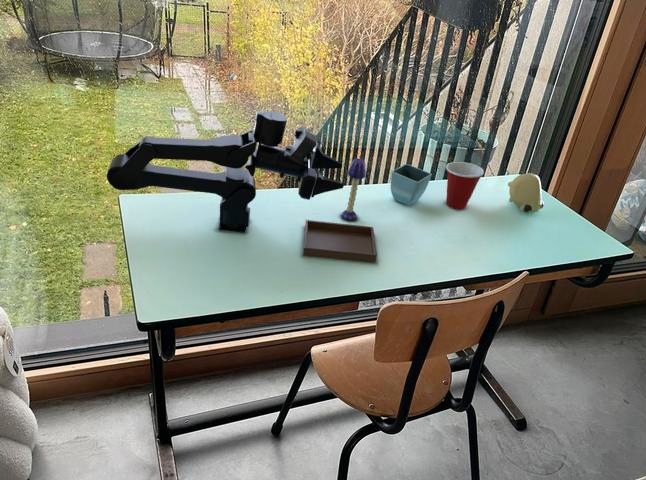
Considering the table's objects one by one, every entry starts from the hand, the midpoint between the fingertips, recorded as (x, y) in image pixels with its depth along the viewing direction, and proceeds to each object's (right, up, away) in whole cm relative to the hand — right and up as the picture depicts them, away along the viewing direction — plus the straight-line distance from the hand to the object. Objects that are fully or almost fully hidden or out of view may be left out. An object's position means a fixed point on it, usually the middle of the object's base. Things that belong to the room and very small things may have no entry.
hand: (342, 175), depth 135 cm
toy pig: (+53, -3, +39) cm, 66 cm away
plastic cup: (+32, -3, +33) cm, 46 cm away
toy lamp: (+1, -9, +16) cm, 18 cm away
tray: (-1, -16, +4) cm, 17 cm away
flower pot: (+17, -2, +30) cm, 34 cm away
